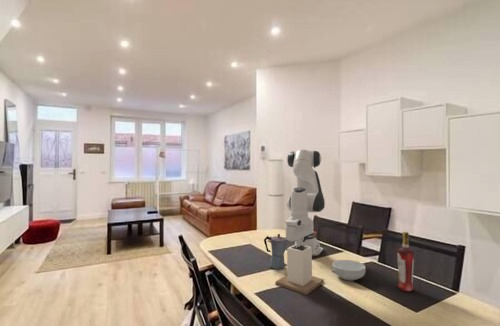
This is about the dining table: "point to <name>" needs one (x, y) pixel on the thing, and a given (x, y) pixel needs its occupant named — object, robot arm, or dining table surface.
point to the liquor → (405, 265)
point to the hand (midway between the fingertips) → (299, 246)
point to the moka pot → (277, 251)
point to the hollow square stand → (299, 271)
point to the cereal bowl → (349, 269)
